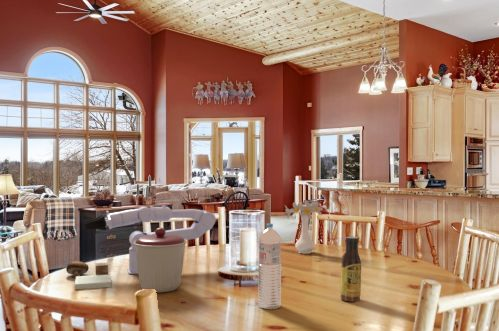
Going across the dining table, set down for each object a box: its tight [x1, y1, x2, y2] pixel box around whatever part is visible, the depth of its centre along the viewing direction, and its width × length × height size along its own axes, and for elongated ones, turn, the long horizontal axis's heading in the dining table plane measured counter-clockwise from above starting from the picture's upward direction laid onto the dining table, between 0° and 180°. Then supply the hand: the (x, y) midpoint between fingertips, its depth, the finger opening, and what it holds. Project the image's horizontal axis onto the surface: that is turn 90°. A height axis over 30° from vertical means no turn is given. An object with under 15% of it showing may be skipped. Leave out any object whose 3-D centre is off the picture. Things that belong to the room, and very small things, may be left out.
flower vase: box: [284, 200, 324, 255], centre depth 232 cm, size 13×18×25 cm
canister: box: [133, 227, 188, 294], centre depth 166 cm, size 18×18×21 cm
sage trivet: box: [74, 273, 112, 290], centre depth 172 cm, size 12×12×2 cm
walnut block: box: [95, 262, 109, 275], centre depth 183 cm, size 4×4×5 cm
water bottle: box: [257, 223, 282, 310], centre depth 146 cm, size 7×7×25 cm
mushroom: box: [65, 260, 89, 277], centre depth 185 cm, size 8×8×6 cm
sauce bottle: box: [340, 236, 362, 303], centre depth 153 cm, size 7×6×20 cm
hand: (85, 225), depth 185 cm, fingers open, 7 cm apart
